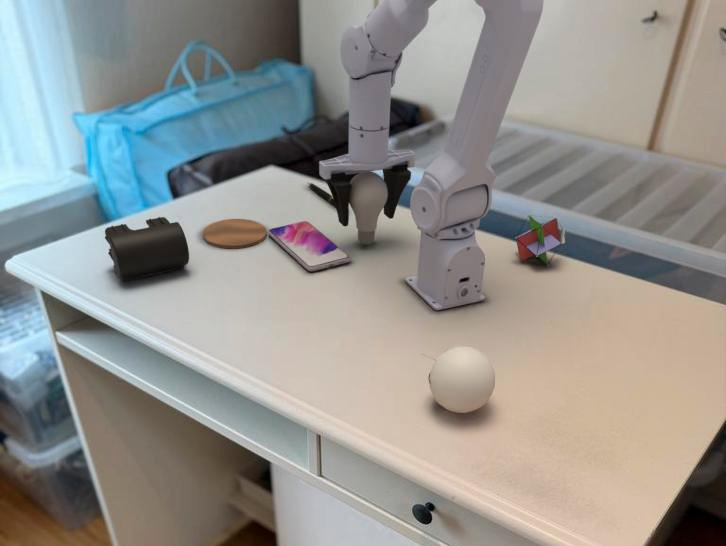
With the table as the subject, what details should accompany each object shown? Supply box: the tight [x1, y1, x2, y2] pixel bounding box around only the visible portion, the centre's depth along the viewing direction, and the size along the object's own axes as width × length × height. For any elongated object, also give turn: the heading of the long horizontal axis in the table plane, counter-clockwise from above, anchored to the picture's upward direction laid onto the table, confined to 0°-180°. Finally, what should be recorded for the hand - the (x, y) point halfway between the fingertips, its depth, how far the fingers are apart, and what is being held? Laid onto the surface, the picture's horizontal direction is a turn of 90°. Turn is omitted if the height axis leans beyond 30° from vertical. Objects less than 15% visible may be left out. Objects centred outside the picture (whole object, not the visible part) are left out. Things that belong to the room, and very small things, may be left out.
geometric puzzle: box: [515, 214, 566, 266], centre depth 108 cm, size 7×7×8 cm
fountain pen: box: [306, 181, 336, 208], centre depth 125 cm, size 14×1×2 cm, turn 32°
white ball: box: [420, 345, 496, 414], centre depth 80 cm, size 10×7×7 cm
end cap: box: [104, 216, 190, 282], centre depth 102 cm, size 10×7×7 cm
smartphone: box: [267, 220, 351, 272], centre depth 111 cm, size 7×1×15 cm
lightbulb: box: [349, 171, 388, 246], centre depth 109 cm, size 6×6×11 cm
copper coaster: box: [202, 218, 267, 249], centre depth 114 cm, size 10×10×1 cm
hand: (366, 219), depth 110 cm, fingers open, 7 cm apart
